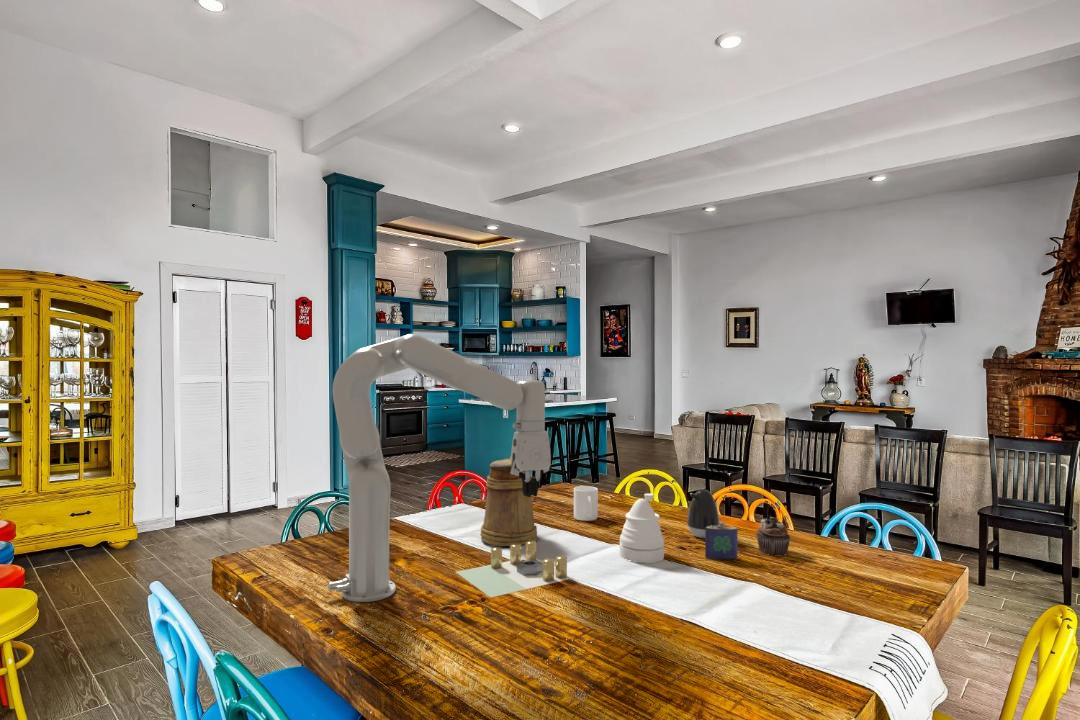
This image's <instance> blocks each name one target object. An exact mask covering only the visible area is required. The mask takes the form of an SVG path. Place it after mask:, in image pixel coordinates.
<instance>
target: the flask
mask: <svg viewBox="0 0 1080 720" xmlns="http://www.w3.org/2000/svg"><path fill="white" fill-rule="evenodd" d="M719 522H720V525H718V526H716V527H714V526H715V525H714V526H712V525H711V526H708V527H706V528H705V538H704V541H705V544H704V545H705V547H704V548H705V549H704V551H705V552H704V554H705V555H704V557H705V559H706V560H710V559H711V560H713V561H734V560H738V557H739V556H738V551H739V550H738V544H739V543H738V540H739V538H738V533H739V532H738V528H737V527H735V526H726V525H725V524H726V523H725V522H724V521H719Z"/></svg>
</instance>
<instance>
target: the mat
mask: <svg viewBox="0 0 1080 720" xmlns="http://www.w3.org/2000/svg"><path fill="white" fill-rule="evenodd" d="M523 559H526V557H521V560H523ZM536 560H538V561H540V562H542V563H543V560H540V559H538V558H536ZM455 574H457V575H459V576H460V577H461V578H463V579H464V580H466V581H467V582H469V583H470V584H471V585H472V586H474V587H475V588H477V589H478V590H480V591H481V592H482V593H483V594H485V595H486V596H488V597H489V598H495V597H499V596H504V595H508V594H512V593H516V592H521V591H525V590H529V589H532V588H533V589H534V588H538V587H542V586H546V585H551V584H555V583H559V582H562V581H563V582H564V581H568V580H572V579H573V577H572V576H570V575H568V574H567V577H566V578H564V579H559V578H556V577H555V567H554V581H551V582H546V581H543V580H542V576H543V571H542V572H541V573H540V574H538V575H530V576H523V575H522V574H520V573H518V572H517V565H511V564H510V560H507V561H502V568H500V569H492V568H491V564H488V565H484V566H483V565H482V566H479V567H473V568H468V569H463V570H459V571H458V570H457V571H455Z"/></svg>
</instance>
